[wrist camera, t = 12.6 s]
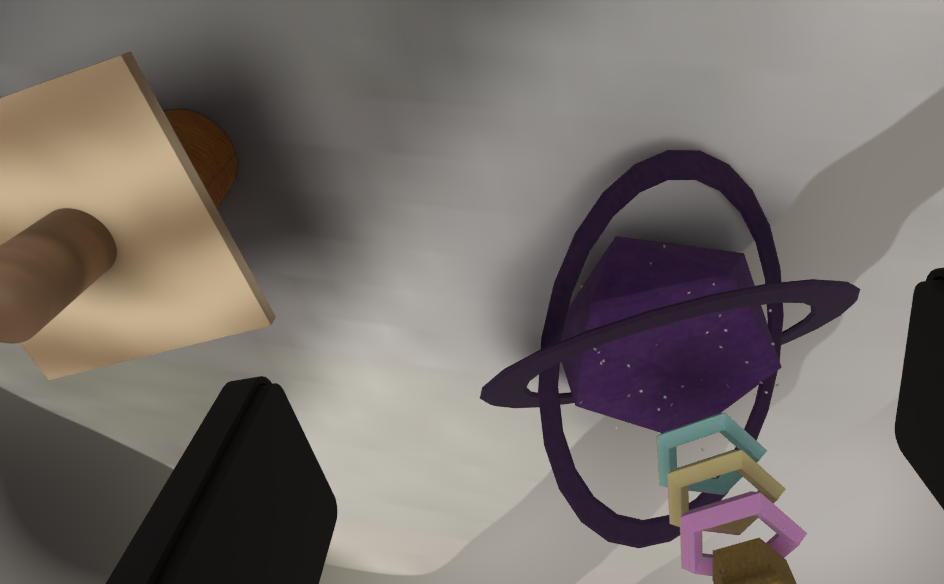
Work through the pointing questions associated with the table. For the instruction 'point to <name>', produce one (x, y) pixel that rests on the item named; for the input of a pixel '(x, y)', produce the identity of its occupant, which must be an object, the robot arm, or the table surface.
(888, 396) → the table surface
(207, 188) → the disposable coffee cup
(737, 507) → the decorative bottle
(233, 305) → the oak lid
